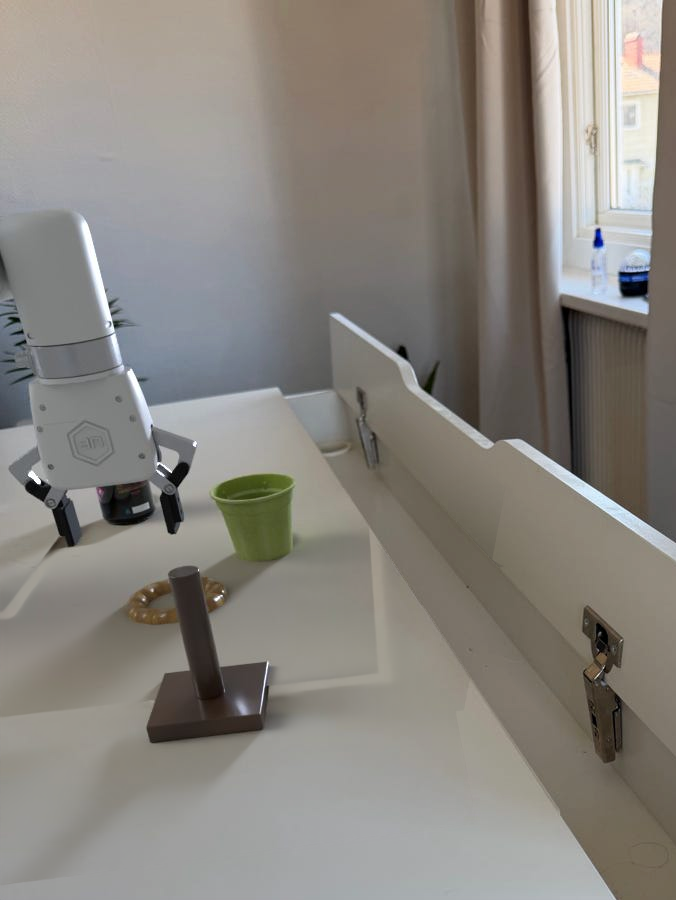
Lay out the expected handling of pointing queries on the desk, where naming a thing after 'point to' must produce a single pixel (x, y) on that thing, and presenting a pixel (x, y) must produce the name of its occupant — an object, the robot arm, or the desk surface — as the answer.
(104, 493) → the supplement container
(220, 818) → the desk surface
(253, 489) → the plant pot
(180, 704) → the peg stand
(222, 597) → the ring
